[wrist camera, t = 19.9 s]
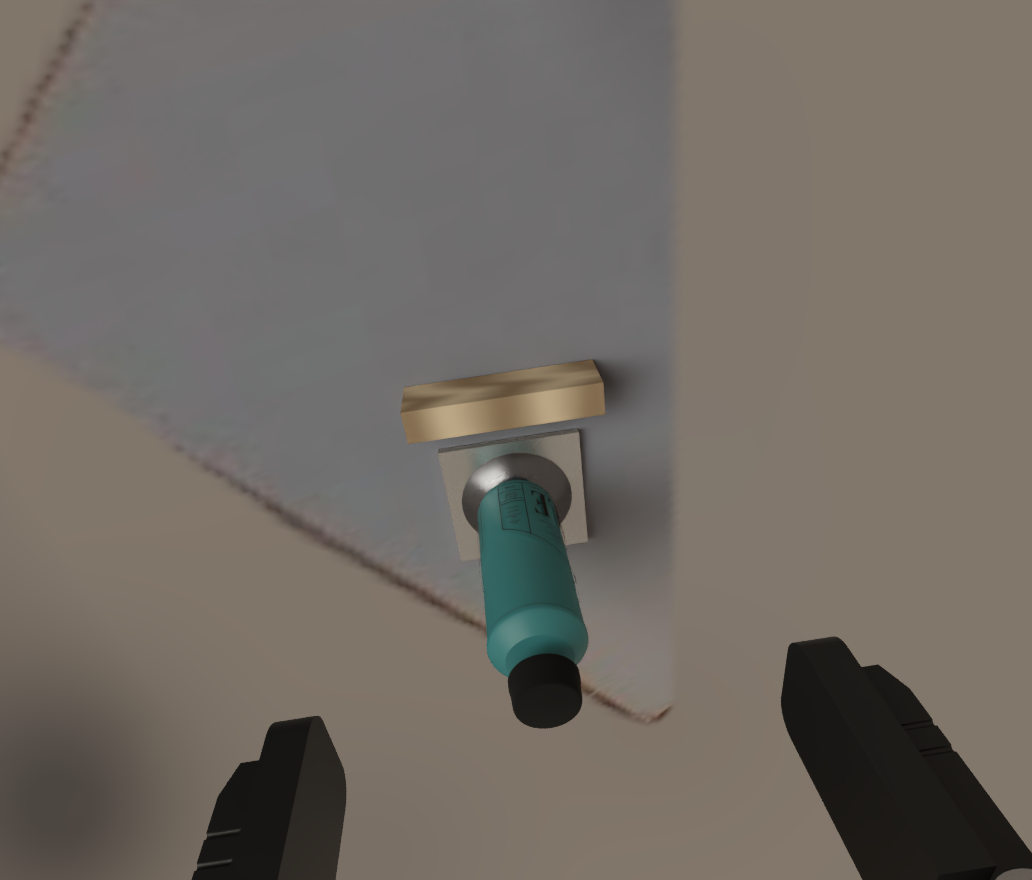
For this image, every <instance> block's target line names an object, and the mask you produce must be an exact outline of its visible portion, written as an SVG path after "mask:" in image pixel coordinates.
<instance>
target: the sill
mask: <svg viewBox="0 0 1032 880" xmlns="http://www.w3.org/2000/svg"><path fill="white" fill-rule="evenodd" d="M604 414H605V402H604V384H603V381H602V379H601V376H600V374H599V372H598V370H597V368H596V366H595V364H594V362H593V360H585V361H578V362H572V363H565V364H558V365H552V366H545V367H538V368H531V369H525V370H518V371H511V372H505V373H498V374H491V375H485V376H478V377H471V378H464V379H458V380H451V381H444V382H438V383H431V384H424V385H417V386H411V387H404V392H403V399H402V406H401V417H402V421H403V425H404V429H405V433H406V437H407V441H408V444H411V443H418V442H425V441H431V440H438V439H445V438H451V437H458V436H465V435H471V434H478V433H484V432H491V431H498V430H504V429H511V428H518V427H524V426H531V425H538V424H544V423H551V422H557V421H564V420H571V419H577V418H584V417H591V416H597V415H604Z"/></svg>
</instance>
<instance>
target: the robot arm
mask: <svg viewBox="0 0 1032 880" xmlns="http://www.w3.org/2000/svg"><path fill="white" fill-rule="evenodd" d="M781 707H782V714H783V718H784V722H785V725H786V728H787V731H788V733H789V736H790V738H791V740H792V742H793V744H794V746H795V748H796V750H797V752H798V754H799V756H800V758H801V759H802V762H803V764H804V766H805V767H806V769H807V772H808V773H809V775H810V777H811V779H812V781H813V783H814V785H815V787H816V789H817V791H818V793H819V795H820V797H821V799H822V801H823V803H824V805H825V807H826V809H827V811H828V813H829V815H830V817H831V819H832V821H833V823H834V824H835V827H836V829H837V831H838V832H839V834H840V836H841V838H842V840H843V842H844V844H845V846H846V848H847V850H848V852H849V854H850V856H851V858H852V860H853V862H854V864H855V866H856V868H857V870H858V872H859V874H860V876H861V878H862V880H1032V853H1031V851H1030V850H1029V849H1028V848H1027V846H1026V845H1025V844H1024V842H1023V841H1022V840H1021V838H1020V837H1019V836H1018V834H1017V833H1016V831H1015V830H1014V829H1013V827H1012V826H1011V825H1010V823H1009V822H1008V821H1007V819H1006V818H1005V817H1004V815H1003V814H1002V813H1001V811H1000V810H999V809H998V807H997V806H996V805H995V803H994V802H993V800H992V799H991V798H990V796H989V795H988V794H987V792H986V791H985V790H984V788H983V787H982V786H981V784H980V783H979V782H978V780H977V779H976V778H975V776H974V775H973V773H972V772H971V771H970V769H969V768H968V767H967V765H966V764H965V763H964V761H963V760H962V759H961V757H960V756H959V755H958V753H957V752H954V751H953V750H952V747H951V744H950V742H949V741H948V740H947V738H946V737H945V736H944V734H943V733H942V732H941V730H940V729H939V728H938V726H935V725H934V724H933V721H932V718H931V717H930V715H929V714H928V713H927V711H926V710H925V709H924V707H923V706H922V705H921V703H920V702H919V700H918V699H917V698H916V696H915V695H914V694H913V693H912V691H911V690H910V689H909V688H908V687H907V686H906V685H904V684H903V683H902V682H900V681H899V680H898V679H896V678H895V677H894V676H892V675H891V674H890V673H889V672H887V671H886V670H885V669H883V668H882V667H881V666H879V665H872V666H866V667H861V666H860V664H859V663H858V662H857V660H856V659H855V657H854V656H853V655H852V653H851V651H850V650H849V648H847V646H846V644H845V643H844V642H843V641H842V640H841V639H839V638H838V637H827V638H821V639H815V640H808V641H802V642H795V643H791V644H790V645H789V647H788V653H787V660H786V667H785V674H784V681H783V688H782V696H781ZM345 806H346V780H345V773H344V769H343V766H342V764H341V761H340V759H339V757H338V754H337V752H336V750H335V747H334V745H333V743H332V741H331V738H330V737H329V734H328V732H327V729H326V727H325V725H324V722H323V720H322V719H321V717H320V716H313V717H306V718H300V719H294V720H287V721H280V722H275V723H273V724H272V725H271V726H270V727H269V729H268V731H267V734H266V738H265V741H264V745H263V748H262V752H261V756H260V759H259V760H258V761H251V762H245V763H240V765H239V766H238V768H237V769H236V771H235V772H234V774H233V775H232V777H231V778H230V780H229V781H228V782H227V784H226V786H225V787H224V788H223V790H222V791H221V793H220V794H219V796H218V798H217V801H216V804H215V808H214V811H213V814H212V817H211V820H210V823H209V827H208V830H207V839H206V840H204V843H203V846H202V849H201V852H200V855H199V858H198V861H197V865H198V866H197V870H196V871H194V874H193V877H192V880H335V879H336V872H337V864H338V858H339V851H340V843H341V836H342V829H343V822H344V815H345Z"/></svg>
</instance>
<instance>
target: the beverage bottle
mask: <svg viewBox="0 0 1032 880" xmlns="http://www.w3.org/2000/svg"><path fill="white" fill-rule="evenodd" d="M552 498H553V497H552ZM552 498H551V497H550V495H549V494H548V493H547V492H546V490H544V489H543V488H542V487H541V486H539V485H537V484H535V483H533V482H530V481H525V480H512V481H507V482H503V483H501V484H499V485H497V486H495V487H493V488H492V489H491V490H490V491H488V493H487V494H486V495H485V496H484V498H483V499H482V501H481V504H479V505H480V506H479V509H478V508H477V509H478V514H477V515H478V516H477V515H476V516H477V518H478V522H477V521H476V522H477V523H478V525H477V523H476V525H477V526H478V527H476V530H477V529H478V531H479V533H478V532H477V533H478V534H479V544H480V545H479V546H480V553H479V552H478V553H479V555H480V558H481V570H482V581H483V588H484V591H483V592H484V601H485V615H486V628H487V654H488V657H489V659H490V661H491V663H492V664H493V666H494V667H495V668H496V669H497V670H498V671H499V672H500V673H501V674H503V675H505V676H506V677H508V688H509V693H510V696H511V700H512V706H513V711H514V713H515V715H516V717H517V718H518V719H519V720H520V721H521V722H522V723H524V724H525V725H528V726H530V727H534V728H553V727H557V726H560V725H563V724H565V723H567V722H568V721H570V720H572V719H573V718H574V717H575V716H576V715H577V714H578V712H579V711H580V708H581V706H582V693H581V678H580V674H579V669H578V667H577V666H576V665H577V664H578V663H579V662H580V661H581V659H582V658H583V656H584V654H585V652H586V650H587V646H588V633H587V629H586V626H585V624H584V621H583V617H582V614H581V610H580V606H579V602H578V598H577V594H576V589H575V584H574V583H575V582H574V580H573V576H572V572H571V568H570V564H569V560H568V556H567V552H566V548H565V545H566V542H565V543H564V541H565V540H564V541H563V537H562V533H563V536H564V532H563V530H562V529H563V528H562V527H561V525H562V524H561V525H560V521H561V520H560V521H559V517H560V516H559V517H558V513H557V510H558V509H556V507H557V506H555V505H554V501H553V499H552ZM476 512H477V511H476ZM560 527H561V529H560ZM561 530H562V533H561ZM477 537H478V536H477ZM564 539H565V536H564ZM477 540H478V539H477ZM477 544H478V543H477ZM479 546H478V547H479ZM478 550H479V549H478ZM478 558H479V557H478ZM479 565H480V564H479ZM479 572H480V571H479ZM479 574H480V573H479ZM574 577H575V576H574ZM575 580H576V578H575ZM576 583H577V582H576ZM481 586H482V585H481ZM483 588H482V589H483Z"/></svg>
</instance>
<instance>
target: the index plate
mask: <svg viewBox="0 0 1032 880" xmlns="http://www.w3.org/2000/svg"><path fill="white" fill-rule="evenodd" d="M438 455H439V459H440V464H441V469H442V473H443V478H444V482H445V487H446V492H447V496H448V501H449V506H450V510H451V515H452V519H453V524H454V529H455V533H456V538H457V543H458V547H459V552H460V556H461V561H466V560H472V559H479V558H480V555H479V553H480V546H479V545H480V544H479V534H478V533H479V531H478V529H477V530H476V527H478V526H477V525H478V523H477V522H478V518H477V516H478V515H477V514H478V509H479V506H480V505H479V504H481V501H482V499H483V498H484V496H485V495H486V494H487V493H488V491H490V490H491V489H492V488H493V487H495V486H497V485H499V484H501V483H503V482H507V481H512V480H525V481H530V482H533V483H535V484H537V485H539V486H541V487H542V488H543V489H544V490H546V492H547V493H548V494H549V495H550V497H551V498H552V497H553V498H552V499H553V501H554V505H555V506H557V507H556V509H558V510H557V513H558V517H559V516H560V517H559V521H560V520H561V521H560V525H561V524H562V525H561V527H562V528H563V529H562V530H563V532H564V536H565V539H564V536H563V533H562V530H561V533H562V537H563V541H564V540H565V541H564V543H565V542H566V545H570V544H576V543H583V542H588V537H587V525H586V513H585V500H584V488H583V476H582V464H581V452H580V439H579V431H578V428H577V429H570V430H564V431H557V432H550V433H544V434H537V435H531V436H524V437H517V438H511V439H504V440H497V441H491V442H484V443H478V444H471V445H464V446H458V447H451V448H444V449H438ZM477 508H478V509H477ZM476 511H477V512H476ZM476 515H477V516H476ZM476 521H477V522H476ZM476 523H477V525H476ZM561 527H560V529H561ZM477 532H478V533H477ZM477 536H478V537H477ZM477 539H478V540H477ZM477 543H478V544H477ZM478 546H479V547H478ZM478 549H479V550H478ZM478 552H479V553H478ZM478 557H479V558H478Z"/></svg>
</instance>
